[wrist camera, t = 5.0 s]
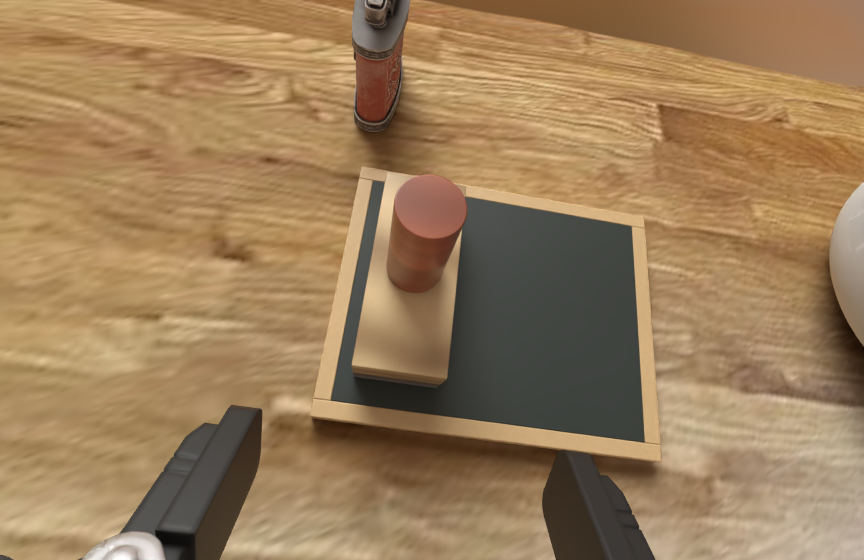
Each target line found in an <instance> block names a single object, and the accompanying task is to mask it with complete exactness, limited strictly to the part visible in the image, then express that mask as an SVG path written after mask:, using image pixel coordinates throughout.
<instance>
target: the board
mask: <svg viewBox="0 0 864 560" xmlns="http://www.w3.org/2000/svg"><path fill="white" fill-rule="evenodd" d="M387 172H391V171H386V170H380V169H375V168H369V167H364V166H362V167H361V171H360V176H359V181H358V186H357V190H356V195H355V200H354V205H353V210H352V214H351V219H350V224H349V229H348V234H347V238H346V243H345V248H344V253H343V258H342V262H341V267H340V272H339V277H338V282H337V286H336V291H335V296H334V301H333V306H332V310H331V315H330V320H329V325H328V330H327V334H326V339H325V344H324V349H323V354H322V358H321V363H320V368H319V373H318V378H317V382H316V387H315V392H314V399H313V402H312V406H311V411H310V417H312V418H314V419H322V420H330V421H337V422H345V423H353V424H361V425H368V426H376V427H384V428H391V429H399V430H407V431H415V432H422V433H430V434H438V435H445V436H453V437H461V438H469V439H476V440H484V441H492V442H499V443H507V444H515V445H523V446H530V447H538V448H546V449H553V450H568V451H576V452H583V453H589V454H592V455H600V456H607V457H615V458H623V459H630V460H638V461H646V462H661V449H660V432H659V418H658V404H657V390H656V377H655V363H654V349H653V335H652V321H651V307H650V294H649V280H648V266H647V252H646V238H645V229H644V228H645V226H644V217H641V216H636V215H630V214H625V213H619V212H614V211H608V210H602V209H597V208H591V207H586V206H580V205H575V204H569V203H564V202H558V201H552V200H547V199H541V198H536V197H530V196H525V195H519V194H514V193H508V192H502V191H497V190H491V189H486V188H480V187H475V186H469V185H464V184H458V183H454V184H458V185H463V186H466V196H465V199H466V203H467V208H468V209H467V217H466V220H465V223H464V225H463V227H462V236H461V246H460V256H459V266H458V275H457V285H456V295H455V305H454V315H453V325H452V335H451V345H450V355H449V365H448V375H447V379H446V380H445V381H444V382H443V383H442V384H440V385H439V386H438V387H437V388H432V387H424V386H417V385H410V384H403V383H396V382H388V381H381V380H374V379H367V378H360V377H354V376H353V371H352V360H353V355H354V349H355V344H356V338H357V333H358V327H359V322H360V316H361V311H362V305H363V300H364V294H365V289H366V283H367V278H368V272H369V267H370V261H371V256H372V250H373V245H374V239H375V234H376V228H377V223H378V217H379V212H380V207H381V201H382V196H383V190H384V185H385V179H386V174H387ZM391 173H397V172H391ZM397 174H402V173H397ZM402 175H408V174H402ZM408 176H413V177H416V176H414V175H408Z"/></svg>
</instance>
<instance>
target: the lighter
mask: <svg viewBox="0 0 864 560" xmlns="http://www.w3.org/2000/svg"><path fill="white" fill-rule="evenodd" d="M409 4H410V0H356V1H355V6H354V11H353V18H352V45H353V48H354V59H355V60H356V89H355V96H354V119H355V123H356V124H357V125H358V126H359V127H360V128H362V129H363V130H366V131H369V132H378V131H382V130H384V129H385V128H386V127H387V126H388V124H389V122H390V120H391V118H392V116H393V114H394V112H395V110H396V106H397V103H398V100H399V97H400V91H401V83H402V73H403V68H402V46H403V36H404V29H405V26H406V23H407V19H408V12H409Z"/></svg>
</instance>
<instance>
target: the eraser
mask: <svg viewBox="0 0 864 560" xmlns="http://www.w3.org/2000/svg"><path fill="white" fill-rule="evenodd" d="M465 196H466V186H463V185H458V184H454V183H453V182H451V181H449V180H448V179H446V178H443V177H441V176H437V175H419V176H416V177H413V176H408V175H402V174H397V173H391V172H387V174H386V179H385V185H384V190H383V196H382V201H381V207H380V212H379V217H378V223H377V228H376V234H375V239H374V245H373V250H372V256H371V261H370V267H369V272H368V278H367V283H366V289H365V294H364V300H363V305H362V311H361V316H360V322H359V327H358V333H357V338H356V344H355V349H354V355H353V360H352V371H353V376H354V377H360V378H367V379H374V380H381V381H388V382H396V383H403V384H410V385H417V386H424V387H432V388H437V387H438V386H439V385H440V384H442V383H443V382H444V381H445V380H446V379H447V375H448V365H449V355H450V345H451V335H452V325H453V315H454V305H455V295H456V285H457V275H458V266H459V256H460V246H461V236H462V227H463V225H464V223H465V220H466V217H467V209H468V208H467V203H466V199H465Z"/></svg>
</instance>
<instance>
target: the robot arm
mask: <svg viewBox="0 0 864 560" xmlns="http://www.w3.org/2000/svg"><path fill="white" fill-rule="evenodd" d="M261 432H262V410H261V409H259V408H251V407H244V406H236V405H231V406H230V407H229V408H228V410H227V411H226V413H225V415H224V416H223V418H222V420H221V421H220V423H219V424H218V425H217V424H209V423H204V424H202V425H201V426H200V427H198V428H197V429H196V430H194V431H193V432H191V433H190V434H189V435H187V436H186V437H185V439H184V440H183V442H182V443H181V445H180V446H179V447H178V449H177V450H176V452H175V453H174V457H172V458H171V459H170V461H169V462H168V464H167V465H166V467H165V468H164V472H162V473H161V474H160V475H159V477H158V478H157V480H156V481H155V483H154V484H153V486H152V487H151V489H150V490H149V492H148V493H147V495H146V496H145V498H144V499H143V501H142V502H141V504H140V505H139V506H138V508H137V509H136V511H135V512H134V514H133V515H132V517H131V518H130V520H129V521H128V523H127V524H126V526H125V527H124V528H123V530H122V531H121V532H120V533H119V534H118V535H116V536H113V537H111V538H109V539H107V540H105V541H103V542H101V543H100V544H98V545H97V546H96V547H94V548H93V549H92V550H91V551H90V552H88V553H87V554H86V555H85V557H84V558H81V559H78V560H219V559H220V557H221V555H222V552H223V550H224V548H225V546H226V543H227V541H228V539H229V536H230V534H231V532H232V529H233V527H234V525H235V522H236V520H237V518H238V515H239V513H240V511H241V508H242V506H243V504H244V501H245V499H246V497H247V495H248V492H249V490H250V488H251V485H252V483H253V481H254V478H255V475H256V472H257V469H258V465H259V460H260V453H261ZM542 507H543V514H544V518H545V522H546V525H547V529H548V533H549V536H550V540H551V543H552V547H553V550H554V554H555V558H556V560H655V558H654V556H653V554H652V551H651V549H650V547H649V545H648V543H647V541H646V539H645V537H644V535H643V533H642V531H641V530H639V525H638V523H637V521H636V519H635V517H634V515H632V510H631V508H630V506H629V504H628V502H627V500H626V498H625V496H624V494H623V492H622V491H621V490H620V489H619V488H618V487H617V486H616V485H615V483H614V482H613V481H612V480H611V479H610V478H609V477H608V476H605V475H600V473H599V471H598V469H597V467H596V465H595V462H594V460H593V458H592V456H591V455H590V454H589V453H583V452H576V451H568V450H560V451H559V452H558V454H557V456H556V459H555V462H554V464H553V467H552V470H551V472H550V475H549V477H548V480H547V483H546V485H545V488H544V491H543V498H542ZM0 560H13V559H11V558H10V557H7V556H4V555H0Z"/></svg>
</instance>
